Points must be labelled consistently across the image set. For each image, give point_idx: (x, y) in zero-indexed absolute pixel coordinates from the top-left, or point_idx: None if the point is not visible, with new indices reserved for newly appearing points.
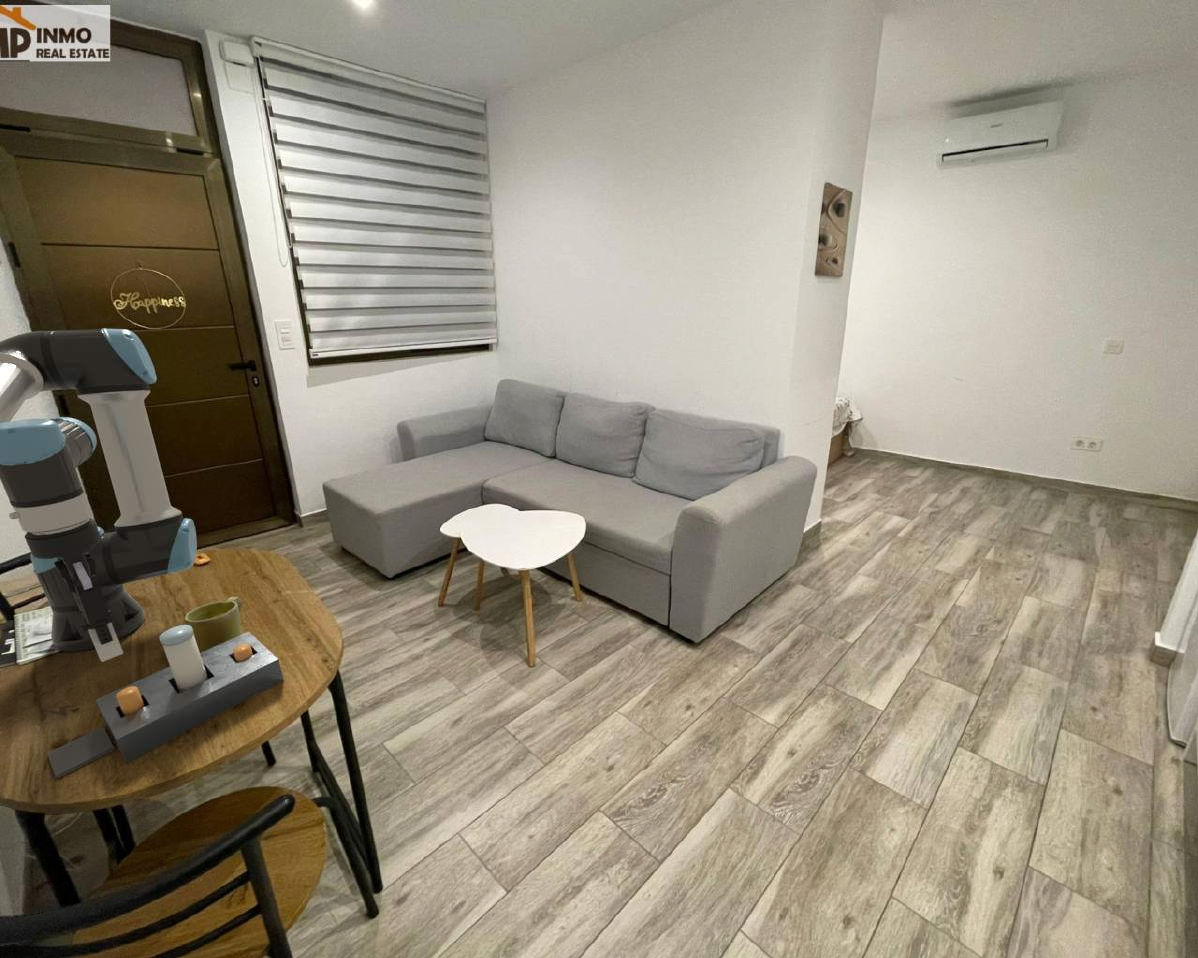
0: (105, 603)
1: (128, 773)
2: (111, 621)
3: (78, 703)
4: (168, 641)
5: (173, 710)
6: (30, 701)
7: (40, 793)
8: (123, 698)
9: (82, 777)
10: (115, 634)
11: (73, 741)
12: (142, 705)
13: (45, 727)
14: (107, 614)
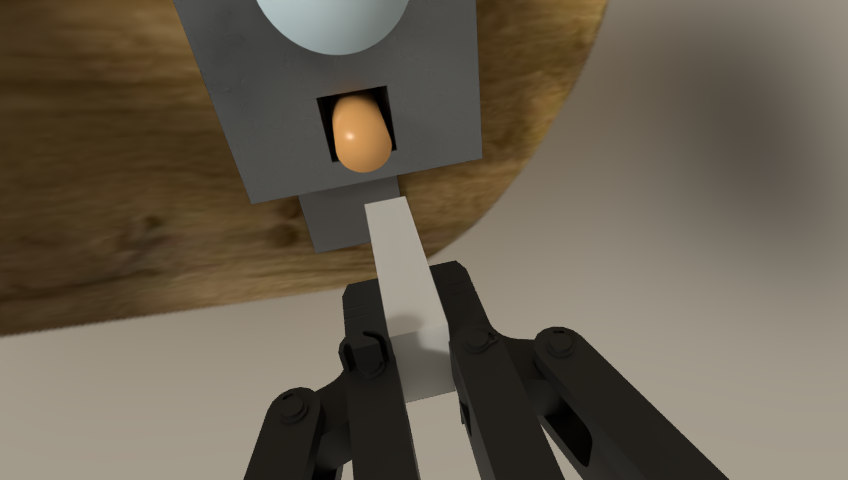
0: (715, 467)
1: (496, 125)
2: (577, 333)
3: (122, 220)
4: (397, 17)
5: (472, 28)
6: (47, 303)
7: (425, 246)
8: (389, 154)
9: (436, 194)
10: (424, 259)
11: (309, 218)
12: (368, 101)
13: (195, 265)
14: (628, 386)
